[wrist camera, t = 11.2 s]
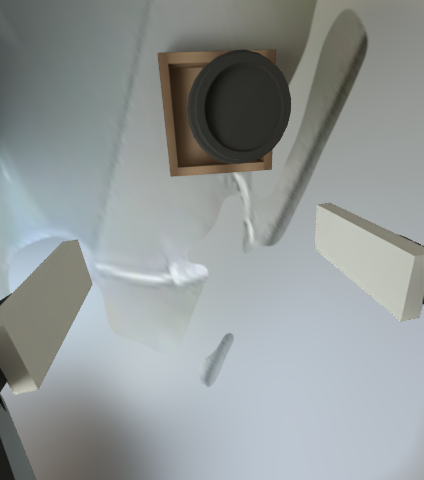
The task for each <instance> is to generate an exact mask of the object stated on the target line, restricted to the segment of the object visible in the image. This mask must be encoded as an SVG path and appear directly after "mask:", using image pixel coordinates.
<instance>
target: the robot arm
mask: <svg viewBox="0 0 424 480" xmlns="http://www.w3.org/2000/svg"><path fill="white" fill-rule="evenodd" d="M315 249H316V250H317V251H318V252H319V253H320V254H322V255H323V256H324V257H325V258H326V259H328V260H329V261H330V262H331V263H332V264H333V265H335V266H336V267H337V268H338V269H339V270H341V271H342V272H343V273H344V274H345V275H346V276H348V277H349V278H350V279H351V280H352V281H354V282H355V283H356V284H357V285H358V286H360V287H361V288H362V289H363V290H364V291H365V292H366V293H368V294H369V295H370V296H371V297H372V298H374V299H375V300H376V301H377V302H378V303H379V304H381V305H382V306H383V307H384V308H385V309H387V310H388V311H389V312H390V313H391V314H392V315H394V316H395V317H396V318H397V319H398V320H400V321H406V320H411V319H416V318H419V317H420V314H421V309H422V305H423V304H424V246H421V244H419V243H417V242H413V241H412V240H410V239H408V238H406V237H404V236H401V235H397V234H395V233H393V232H391V231H388V230H386V229H384V228H382V227H380V226H378V225H376V224H374V223H372V222H369V221H368V220H365V219H363V218H361V217H359V216H357V215H355V214H353V213H351V212H348V211H346V210H344V209H342V208H340V207H338V206H336V205H333V204H332V203H325V204H318V205H317V216H316V235H315ZM91 286H92V281H91V278H90V275H89V272H88V269H87V266H86V263H85V260H84V257H83V254H82V251H81V248H80V245H79V242H78V240H72V241H65V242H62V243H61V244H60V245H59V246H58V247H57V248H56V249H55V250H54V251H53V252H52V253H51V254H50V255H49V256H48V257H47V258H46V259H45V260H44V262H43V263H41V264H40V266H39V267H38V268H37V269H36V270H35V271H34V272H33V273H32V274H31V275H30V276H29V277H28V278H27V279H26V280H25V281H24V282H23V283H22V284H21V285H20V286H19V287H18V288H17V289H16V290H15V291H14V292H13V293H11V294H10V295H8V296H7V297H5V298H4V299H2V300H1V301H0V392H1V390H2V389H3V387H4V386H5V384H6V382H7V383H8V384H9V386H10V388H11V389H12V391H13V393H14V394H19V393H25V392H30V391H35V390H38V389H39V387H40V385H41V383H42V382H43V379H44V378H45V376H46V374H47V372H48V370H49V368H50V366H51V364H52V362H53V360H54V358H55V356H56V354H57V352H58V350H59V349H60V347H61V345H62V343H63V341H64V339H65V337H66V335H67V333H68V331H69V329H70V327H71V325H72V323H73V321H74V319H75V317H76V315H77V313H78V312H79V310H80V308H81V306H82V304H83V302H84V300H85V298H86V296H87V294H88V292H89V290H90V288H91ZM0 480H36V477H35V475H34V472H33V470H32V467H31V465H30V463H29V460H28V457H27V455H26V453H25V450H24V448H23V445H22V443H21V440H20V438H19V436H18V433H17V430H16V428H15V426H14V423H13V421H12V418H11V416H10V413H9V411H8V409H7V406H6V404H5V401H4V399H3V398H2V396H1V394H0Z"/></svg>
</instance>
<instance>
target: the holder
mask: <svg viewBox="0 0 424 480" xmlns="http://www.w3.org/2000/svg"><path fill="white" fill-rule="evenodd" d="M249 51H253V52H257V53H260V54H261V55H263V56H264V57H266V58H268V59H269V60H271V61H272V62H273V63H274V64H275V61H276V50H249ZM227 52H229V51H207V52H168V53H158V61H159V71H160V80H161V89H162V99H163V108H164V118H165V127H166V136H167V146H168V155H169V164H170V174H171V177H172V176H186V175H201V174H215V173H230V172H244V171H258V170H271V169H272V150H271V151H270V152H269V153H267V154H266V155H265V156H263V157H262V158H260V159H257V160H255V161H252V162H250V163H241V164H231V163H225V162H221V161H219V160H217V159H215V158H213V157H211V156H210V155H209V154H207V153H206V152H205V151H204V150H203V149H202V148H201V147H200V146H199V144H198V143H197V141H196V140H195V138H194V136H193V134H192V131H191V128H190V126H189V120H188V112H187V107H188V99H189V93H190V90H191V88H192V85H193V83H194V80H195V79H196V77H197V76H198V74H199V73H200V72H201V70H202V69H203V67H205V66H206V65H207V64H208V63H210V62H211V61H212V60H213V59H215V58H216V57H217V56H220V55H222V54H224V53H227Z"/></svg>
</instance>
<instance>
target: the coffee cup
mask: <svg viewBox="0 0 424 480" xmlns="http://www.w3.org/2000/svg"><path fill="white" fill-rule="evenodd" d="M187 112H188V120H189V126H190V128H191V131H192V134H193V136H194V138H195V140H196V141H197V143H198V144H199V146H200V147H201V148H202V149H203V150H204V151H205V152H206V153H207V154H209V155H210V156H211V157H213V158H215V159H217V160H219V161H221V162H225V163H231V164H241V163H250V162H252V161H255V160H257V159H260V158H262V157H263V156H265V155H266V154H267V153H269V152H270V151H271V150H272V149H273V148H274V147H275V146H276V144H277V143H278V142H279V141H280V139H281V137H282V135H283V133H284V131H285V129H286V127H287V125H288V121H289V117H290V112H291V97H290V92H289V87H288V84H287V82H286V80H285V78H284V76H283V74H282V72H281V71H280V70H279V69H278V67H277V66H276V65H275V64H274V63H273V62H272V61H271V60H269V59H268V58H266V57H264V56H263V55H261V54H260V53H257V52H253V51H249V50H234V51H229V52H227V53H224V54H222V55H220V56H217V57H216V58H215V59H213V60H212V61H211V62H210V63H208V64H207V65H206V66H205V67H203V69H202V70H201V72H200V73H199V74H198V76H197V77H196V79H195V80H194V83H193V85H192V88H191V90H190V93H189V99H188V107H187Z"/></svg>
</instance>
